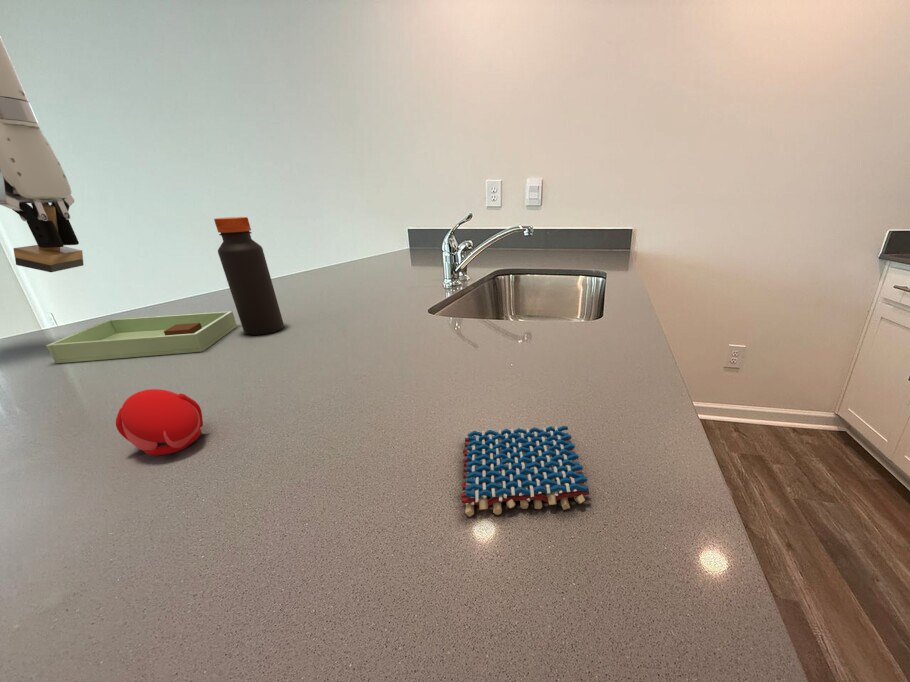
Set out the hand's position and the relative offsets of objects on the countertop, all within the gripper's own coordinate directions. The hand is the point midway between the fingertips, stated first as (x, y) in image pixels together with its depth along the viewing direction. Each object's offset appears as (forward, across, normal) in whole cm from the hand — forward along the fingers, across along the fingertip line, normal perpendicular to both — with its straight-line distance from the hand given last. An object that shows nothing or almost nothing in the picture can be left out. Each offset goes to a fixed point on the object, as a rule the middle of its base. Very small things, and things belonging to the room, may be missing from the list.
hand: (59, 245), depth 67 cm
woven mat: (+16, +54, +67) cm, 88 cm away
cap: (+17, +41, +32) cm, 55 cm away
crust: (+16, +4, +16) cm, 23 cm away
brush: (+3, 0, -2) cm, 4 cm away
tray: (+17, +4, +11) cm, 20 cm away
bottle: (+16, +1, +28) cm, 32 cm away
